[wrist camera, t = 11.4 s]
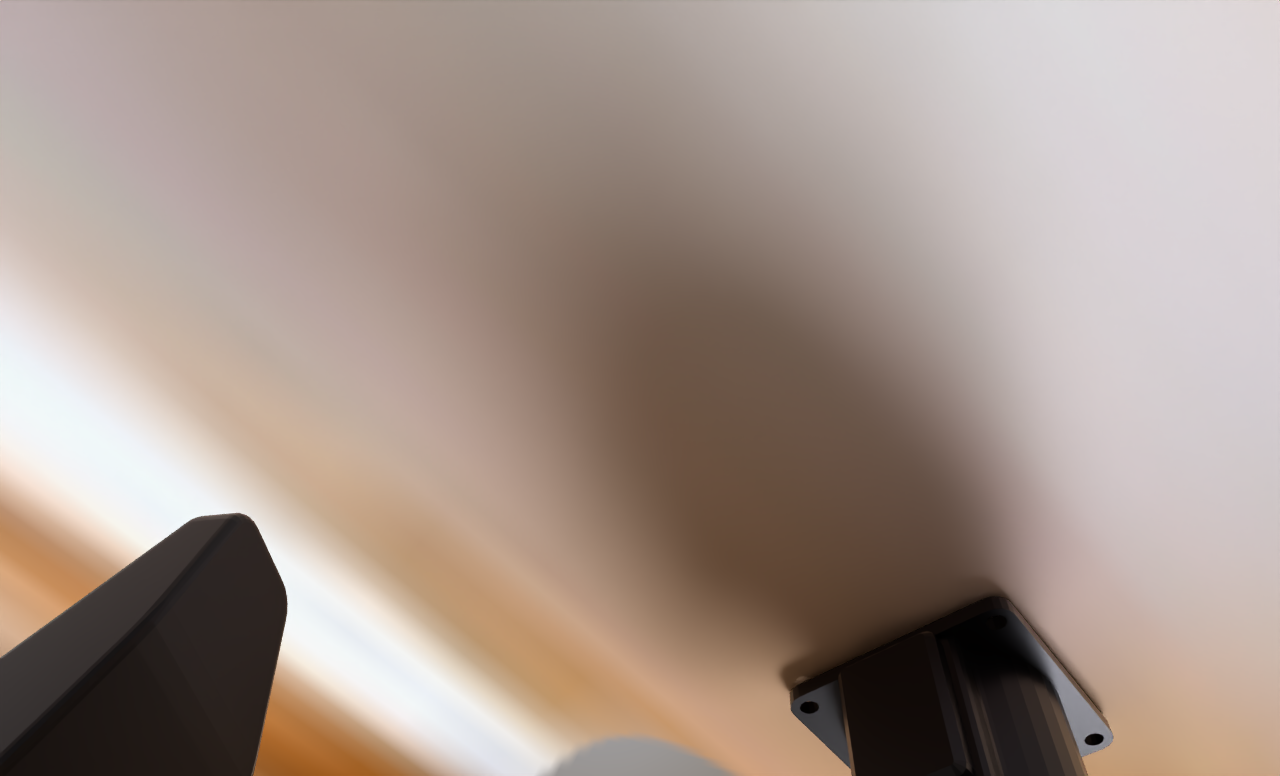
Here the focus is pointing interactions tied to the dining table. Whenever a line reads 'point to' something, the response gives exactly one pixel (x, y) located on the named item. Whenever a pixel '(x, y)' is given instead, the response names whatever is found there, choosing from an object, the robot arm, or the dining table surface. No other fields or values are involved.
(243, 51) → the dining table surface
